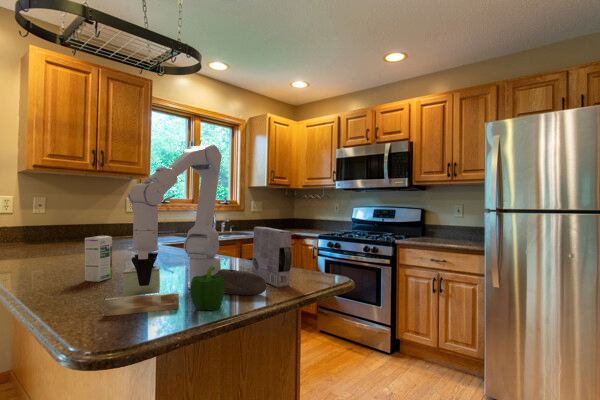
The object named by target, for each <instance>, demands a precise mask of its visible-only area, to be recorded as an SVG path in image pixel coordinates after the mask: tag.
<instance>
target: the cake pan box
mask: <svg viewBox="0 0 600 400" xmlns="http://www.w3.org/2000/svg"><path fill="white" fill-rule="evenodd" d="M252 246H253V247H252V265H251V269H252V270H251V273H254V274H257V275H259V276H260V277H262V278H263V279H264V280H265V282H266V284H268V285H269V284H270V285H271V286H274V287H275V288H284V287H289V286H290V275H291V274H290V273H291V272H290V271H291V267H292V263H293V260H292V259H293V256H292V255H293V254H292V232H291V231H290V230H282V229H278V228H272V227H266V226H254V227H253V242H252Z"/></svg>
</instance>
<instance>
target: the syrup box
mask: <svg viewBox="0 0 600 400" xmlns="http://www.w3.org/2000/svg"><path fill="white" fill-rule="evenodd" d="M112 278H113V236H110V235H97V236H91V237H85V238H84V281H86V282H96V283H97V282H99V283H100V282H102V281H106V280H109V279H112Z"/></svg>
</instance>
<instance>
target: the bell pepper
mask: <svg viewBox="0 0 600 400" xmlns="http://www.w3.org/2000/svg"><path fill="white" fill-rule="evenodd" d="M214 269H215V267H213V266H211V267H210V268H209V269H208V271H207V274H205V275H203V276H195V277H193V278H192V281H191V289H190V295H191V299H192V305H193V306H194V308H195V309H196V310H198V311H206V310H207V311H214V310H218V309H220V307H221V306H222V303H223V300H224V295H225V293H224V291H225V281H224V278H223V277H221V276H220V275H219V274H215V275H213V276H212V275H211V271H212V270H214Z"/></svg>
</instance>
